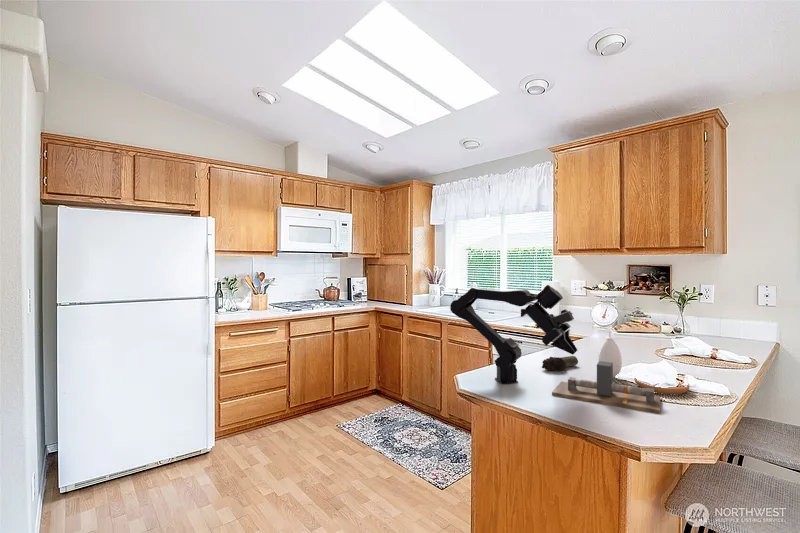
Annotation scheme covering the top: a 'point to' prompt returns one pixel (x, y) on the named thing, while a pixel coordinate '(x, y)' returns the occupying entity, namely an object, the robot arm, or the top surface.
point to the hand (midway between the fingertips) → (575, 352)
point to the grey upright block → (604, 378)
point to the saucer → (664, 390)
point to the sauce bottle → (611, 354)
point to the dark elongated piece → (559, 363)
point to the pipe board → (619, 397)
